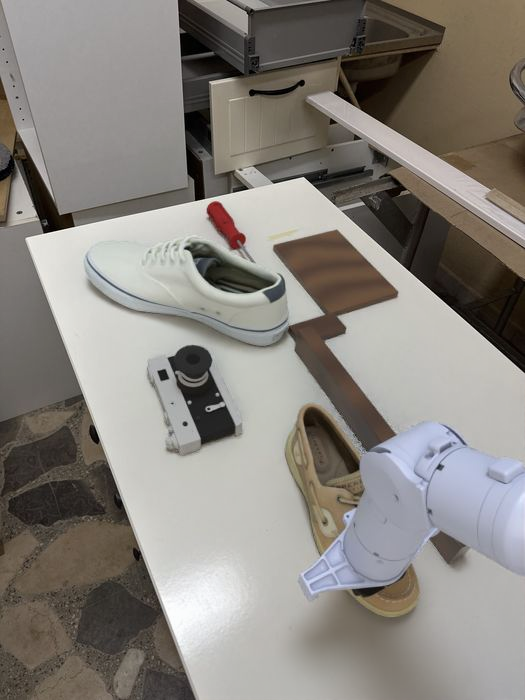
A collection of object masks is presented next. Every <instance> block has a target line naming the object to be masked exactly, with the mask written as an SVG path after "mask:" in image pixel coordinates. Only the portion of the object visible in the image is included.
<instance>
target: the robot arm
mask: <svg viewBox="0 0 525 700" xmlns="http://www.w3.org/2000/svg"><path fill="white" fill-rule="evenodd" d="M360 475H361V479H362V482H363V485H364V487H365V490H364V492H363V495H362V497H361V499H360V502H359V504H358V506H357V508H355V509H353V510H351V511H348V512H346V513H345V514H344V516H343V519H342V520H343V522H344V524H345V526H346V528H345V529H344V531H343V532H342V533H341V534H340V535H339V536H338V537H337V539H336V540H335V541H334V542H333V543H332V544H331V545H330V547H329V548H328V549H327V550H326V551H325V552H324V553H323V555H322V556H321V555H320V557H319V558H318V559H317V560H316V561H315V562H314V563H313V564H312V565H311V566H309V567H308V568H306V569H305V570H303V571H302V572H300V574H299V576H298V579H297V583H298V585H299V587H300V589H301V591H302V593H303V595H304V597H305V599H306V601H307V602H308V603H311V602H313V601H314V600H317V599H318V598H319V595H321V594H324V593H327V592H328V593H329V592H337V591H347V589H351V590H352V592H353V593H354V595H355V596H360V595H361V596H362V597H363V598H365V597H369V596H372V595H374V594H376V593H378V592H379V591H381V590H383V589H385V586H387V587H388V586H390V585H392V584H394V583H396V582H397V581H399V580H401V579H402V578H403V577H404V576H405V574H406V569H407V568H408V567H409V565H410V564H411V563H412V564H413V561H414V560H415V559H416V557H417V556H418V555H419V554H420V552H421V551H422V549H424V546H425V545H426V544H427V542H428V541H429V540H430V537H433V536H435V535H437V534H438V533H439V532H440V530H441V531H442V532H444V533H446V534H447V535H449V536H451V537H453V538H454V539H456V540H458V541H459V542H461V543H463V544H465V545H466V546H468V547H470V549H472V550H473V551H475V552H476V553H478V554H480V555H481V556H484V557H485V558H486V559H489V560H490V561H492V562H494V563H496V564H497V565H499V566H501V567H502V568H504V569H506V570H507V571H510V572H511V573H512V574H515V575H516V576H518V577H519V576H520V577H524V578H525V465H524V463H523V461H521V460H517V459H514V458H512V457H510V456H505V455H504V456H502V457H501V458H500V457H498V456H495V455H492V454H490V453H486V452H484V451H483V450H482V451H481V450H479V449H476V448H474V447H471V446H470V445H469V443H468V442H467V440H466V439H465V438H464V437H463V435H461V433H460V432H458V430H456V429H455V428H453V427H452V426H450V425H448V424H445V423H443V422H437V421H433V420H423V421H421V422H418V423H417V424H415V425H412V426H411V427H409V428H407V429H405V430H404V431H402V432H399V433H398V434H396V436H394V437H392V438H390V439H389V440H387V441H385V442H383V443H381V444H379V445H377V446H375V447H373V448H372V449H371V450H370V451H369V452H367V451H366V452H364V453H363V455H362V456H361V460H360Z"/></svg>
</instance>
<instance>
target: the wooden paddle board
mask: <svg viewBox="0 0 525 700" xmlns="http://www.w3.org/2000/svg"><path fill="white" fill-rule="evenodd" d="M272 251H273V252H274V254H275V255H276V256H277V257H278V258H279V259H280V261H281V262H282V263H283V264H284V266H285V267H286V268H287V269H288V270H289V271H290V273H291V274H292V275H293V276H294V278H295V279H296V280H297V282H298V283H299V284H300V285H301V286H302V287H303V289H304V290H305V291H306V293H308V295H309V296H310V297H311V299H312V300H313V301H314V302H315V303H316V305H317V306H318V307H319V308H320V310H321V311H322V312H323V313H324V314H323V315H320V316H316V317H313V318H310V319H307V320H304V321H299V322H297V323H294V324H291V325H288V326H287V332H288V334H289V335H290V337H291V338H292V339H293V341H294V342H295V345H294V352H295V353H296V354H297V356H298V357H299V358H300V359H301V361H302V363H303V364H304V366H305V367H306V369H307V370H308V371H309V372H310V374H311V375H312V377H313V378H314V379H315V381H316V382H317V384H318V386H320V387H321V389H322V391H323V392H324V393H325V395H326V396H327V398H328V399H329V401H330V402H331V403H332V404H333V406H334V408H336V410H337V411H338V413H339V414H340V415H341V417H342V419H343V420H344V421H345V423H346V424H347V425H348V427H349V428H350V430H351V431H352V432H353V434H354V435H355V436H356V438H357V439H358V441H359V442H360V443H361V445H362V447H364V449H365V450H366V453H367V452H369V451H370V450H371V449H372V448H373V447H375V446H377V445H379V444H381V443H383V442H385V441H387V440H389V439H390V438H392V437H394V436H396V435H397V433H396V432H395V431H394V430H393V429H392V427H391V426H390V425H389V423H388V422H387V421H386V419H385V418H384V417H383V416H382V413H380V411H379V410H378V409H377V407H376V406H375V405H374V404H373V403H372V402H371V400H370V399H369V397H368V396H367V395H366V393H364V391H363V390H362V388H361V387H360V386H359V385H358V383H357V382H356V381H355V379H354V378H353V377H352V375H351V374H350V373H349V372H348V370H347V369H346V368H345V367H344V365H343V364H342V363H341V362H340V360H339V359H338V357H336V355H335V354H334V352H333V351H332V350H331V349H330V347H329V346H328V345H327V343H326V342H325V341H326V340H328V339H332V338H336V337H338V336H341V335H344V334H346V332H347V326H346V325H345V324H344V323H343V322H342V320H341V319H340V318H339V317H338V316H341V315H343V314H344V315H345V314H347V313H350V312H353V311H356V310H357V311H358V310H360V309H363V308H367V307H369V306H372V305H373V306H374V305H376V304H379V303H383V302H386V301H389V300H392V299H396V298H397V297H398V296H399V290H398V289H397V288H396V287H394V286H393V284H391V282H390V281H389V280H388V279H387V278H386V277H385V276H383V274H382V273H381V272H380V271H379V270H378V269H377V268H376V267H375V266H374V265H373V264H372V263H371V262H370V261H369V260H368V259H367V258H366V257H365V256H364V255H363V254H362V253H361V252H360V251H359V250H358V249H357V248H356V247H355V246H354V245H353V244H352V243H351V242H350V241H349V240H348V239H347V238H346V237H345V236H344V235H343V234H342V233H341V231H339V230H338V229H333V230H329V231H324V232H321V233H317V234H313V235H308V236H303V237H300V238H296V239H291V240H288V241H283V242H279V243H276V244H273V246H272ZM429 540H430V541H431V542H432V544H433V545H434V547H435V548H436V549H437V550H438V552H439V554H440V555H441V556H442V558H443V559H444V561H445V562H446V563H447V564H448V565H449V564H451V563H453V562H454V561H456V560H458V559H460V558H462V557H463V556H465V555H466V554H467V552H468V551H469V550H470V549H471V548H470V547H468V546H466V545H465V544H463V543H461V542H459V541H458V540H456V539H454V538H453V537H451V536H449V535H447V534H446V533H444V532H442V531H441V530H440V532H439V533H438V534H437V535H435V536H433V537H430V538H429Z"/></svg>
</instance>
